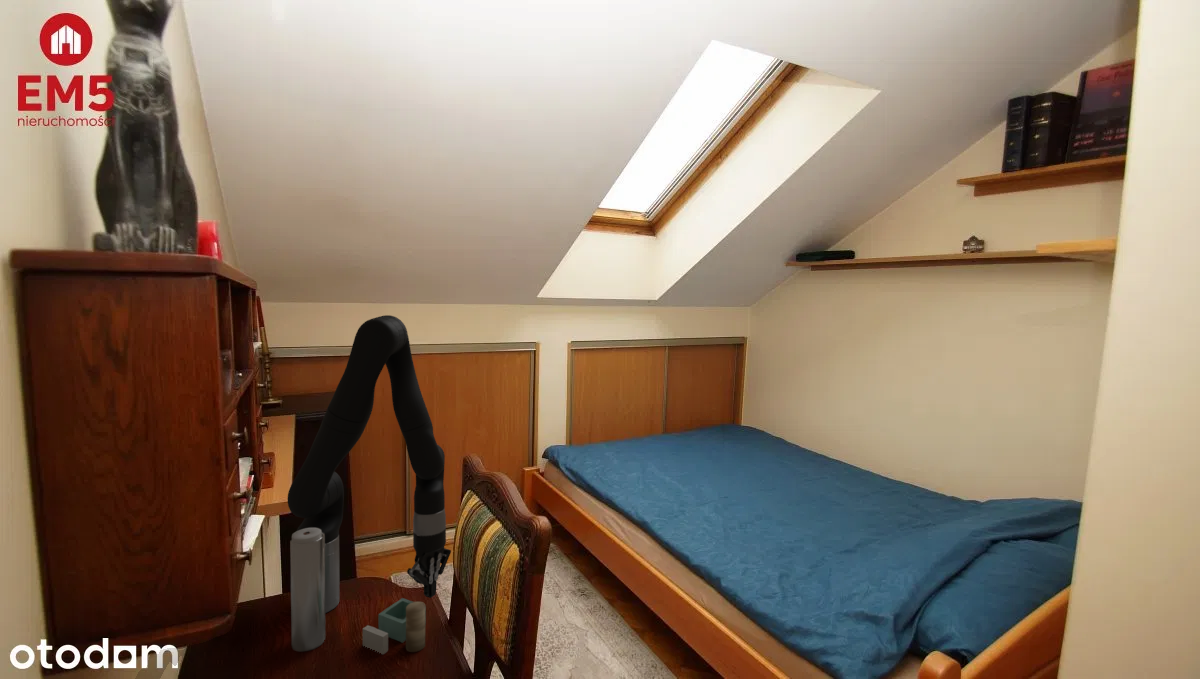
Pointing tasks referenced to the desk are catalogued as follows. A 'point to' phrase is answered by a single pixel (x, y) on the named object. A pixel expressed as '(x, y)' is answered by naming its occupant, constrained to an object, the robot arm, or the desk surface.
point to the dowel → (415, 626)
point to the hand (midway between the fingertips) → (430, 595)
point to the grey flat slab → (375, 639)
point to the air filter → (307, 589)
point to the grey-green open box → (395, 620)
